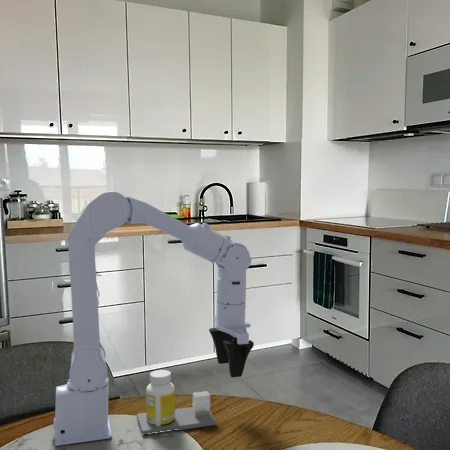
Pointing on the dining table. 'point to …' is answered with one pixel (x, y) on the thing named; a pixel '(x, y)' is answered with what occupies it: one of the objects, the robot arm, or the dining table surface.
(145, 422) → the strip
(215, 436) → the dining table surface
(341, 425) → the dining table surface
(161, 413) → the supplement bottle
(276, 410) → the dining table surface
